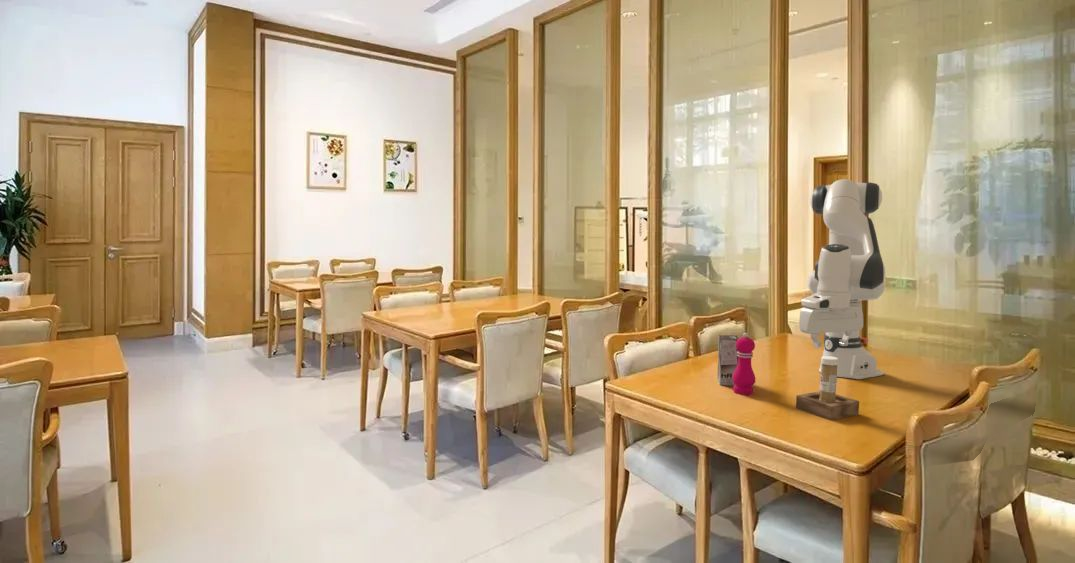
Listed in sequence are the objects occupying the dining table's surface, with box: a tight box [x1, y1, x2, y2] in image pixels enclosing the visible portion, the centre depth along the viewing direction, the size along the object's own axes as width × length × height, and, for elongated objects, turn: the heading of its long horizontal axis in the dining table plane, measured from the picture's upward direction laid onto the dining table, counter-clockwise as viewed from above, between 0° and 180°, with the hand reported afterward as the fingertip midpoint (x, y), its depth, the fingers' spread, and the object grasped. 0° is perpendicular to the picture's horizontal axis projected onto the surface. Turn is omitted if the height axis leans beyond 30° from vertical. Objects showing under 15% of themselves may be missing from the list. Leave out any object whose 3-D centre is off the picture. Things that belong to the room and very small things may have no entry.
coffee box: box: [717, 334, 739, 387], centre depth 210 cm, size 9×6×16 cm
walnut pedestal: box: [795, 390, 860, 421], centre depth 179 cm, size 12×12×4 cm
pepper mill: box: [732, 332, 756, 396], centre depth 198 cm, size 7×7×20 cm
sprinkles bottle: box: [819, 355, 838, 403], centre depth 178 cm, size 5×5×13 cm
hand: (830, 346), depth 177 cm, fingers open, 8 cm apart
